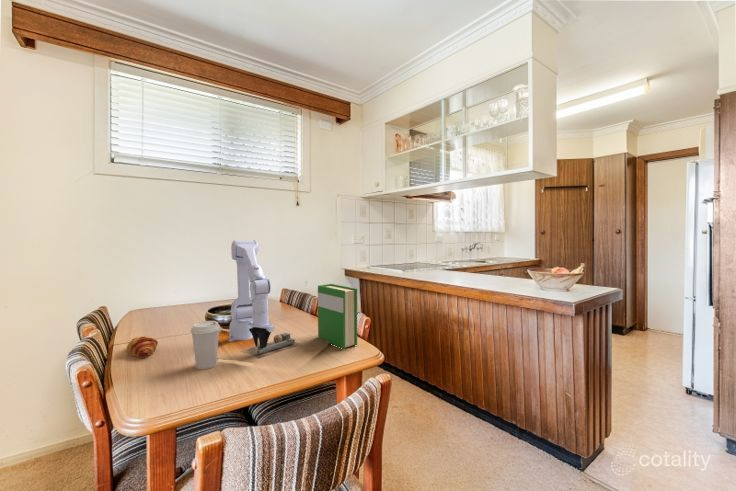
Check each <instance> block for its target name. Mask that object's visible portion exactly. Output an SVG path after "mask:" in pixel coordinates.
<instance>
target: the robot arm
mask: <svg viewBox="0 0 736 491" xmlns="http://www.w3.org/2000/svg"><path fill="white" fill-rule="evenodd" d="M258 251H259V244H258V241H257V240H255V239H252V240H250V239H249V240H233V241H232V242H231V252H230V253H231V259H232V260H234V261H235V262H236V271H237V272H236V275H237V277H236V278H237V279H236V280H237V298H236V299H235V300H234V301H232V302H231V307H230V316H231V317H230V318H231V321H230V323H229V326H228V327H229V328H228V330H229V333H228V334H229V339H228V340H227V341H228V342H234V341H246V340H251V339H253V342H254V345H255V346H254V347H257V337H259V342H260V348H261V349H263V348H266V346H267V343H269V339H270V336H271V333H272V332H274V331H275V325H273V324H271V323H270V321H269V294H270V293H271V281H270V279H269V278H267V276H265V273H264V271H263V267H262V266H261V265H259V264H258V260H257V254H258Z"/></svg>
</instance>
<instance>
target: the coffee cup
mask: <svg viewBox="0 0 736 491" xmlns="http://www.w3.org/2000/svg"><path fill="white" fill-rule="evenodd" d="M220 330H221V325H220V324H219V322H218V321H215V320H205V321H200V322H196V323H193V325H192V327H191V328H190V331H189V332H190V334H191V336H192V344H193V345H192V346H193V351H194V361H195V368H196V370H210V369H213V368H214V367H216V366H217V363H218V362H217V361H218V350H219V349H218V348H219V337H220V336H219V334H220Z"/></svg>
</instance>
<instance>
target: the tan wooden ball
mask: <svg viewBox="0 0 736 491" xmlns="http://www.w3.org/2000/svg"><path fill="white" fill-rule="evenodd" d="M282 339H283V338H282V336H281V335H280V334H275V336H274V337H273V341H274V342H275V343H278V342H282Z"/></svg>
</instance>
